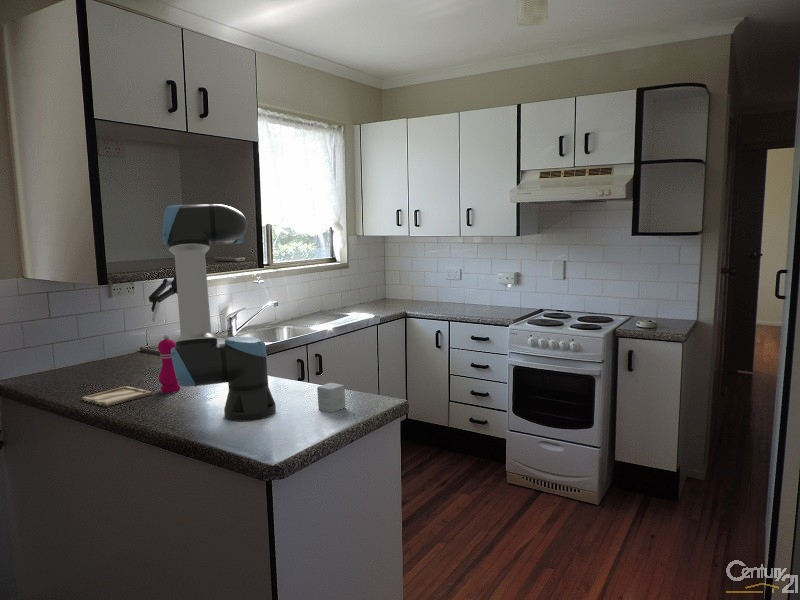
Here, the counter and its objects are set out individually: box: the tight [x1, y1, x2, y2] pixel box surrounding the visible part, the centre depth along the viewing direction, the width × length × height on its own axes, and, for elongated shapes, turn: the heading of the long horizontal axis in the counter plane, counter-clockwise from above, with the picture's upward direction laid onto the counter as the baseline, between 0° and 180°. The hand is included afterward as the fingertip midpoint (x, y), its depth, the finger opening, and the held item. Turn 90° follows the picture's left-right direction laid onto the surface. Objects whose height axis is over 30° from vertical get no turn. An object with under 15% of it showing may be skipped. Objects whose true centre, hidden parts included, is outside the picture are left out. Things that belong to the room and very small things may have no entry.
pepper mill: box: [157, 334, 181, 394], centre depth 209 cm, size 7×7×20 cm
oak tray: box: [81, 385, 153, 407], centre depth 204 cm, size 16×16×1 cm
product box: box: [316, 382, 346, 413], centre depth 181 cm, size 6×6×7 cm
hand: (173, 322), depth 208 cm, fingers open, 13 cm apart
